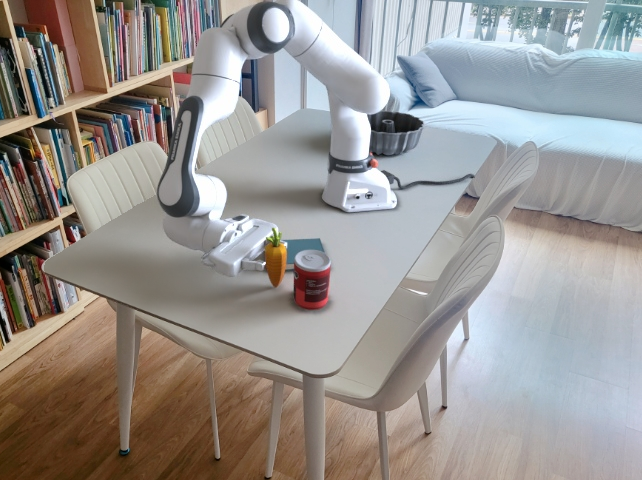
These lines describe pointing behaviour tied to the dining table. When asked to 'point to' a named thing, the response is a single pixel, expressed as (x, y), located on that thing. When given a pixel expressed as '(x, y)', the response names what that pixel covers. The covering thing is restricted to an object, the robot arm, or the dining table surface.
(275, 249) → the carrot
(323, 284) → the canned food
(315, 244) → the blue hardcover book
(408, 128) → the bundt pan
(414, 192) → the dining table surface
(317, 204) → the dining table surface
